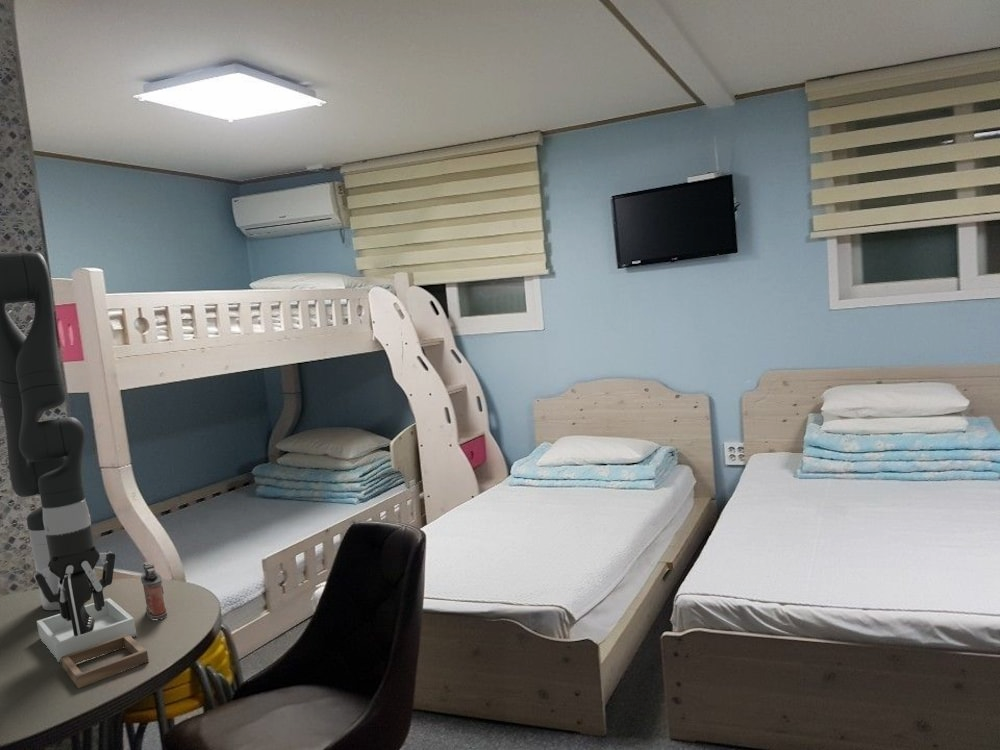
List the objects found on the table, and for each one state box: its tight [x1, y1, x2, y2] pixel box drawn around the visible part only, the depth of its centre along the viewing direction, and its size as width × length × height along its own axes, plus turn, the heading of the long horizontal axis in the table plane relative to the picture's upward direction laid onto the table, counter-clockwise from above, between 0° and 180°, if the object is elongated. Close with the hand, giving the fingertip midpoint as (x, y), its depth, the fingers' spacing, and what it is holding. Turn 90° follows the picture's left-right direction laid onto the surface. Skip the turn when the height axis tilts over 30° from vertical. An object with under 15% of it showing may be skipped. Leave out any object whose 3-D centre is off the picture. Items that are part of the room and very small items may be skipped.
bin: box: [36, 597, 138, 662], centre depth 150 cm, size 16×13×4 cm
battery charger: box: [64, 571, 95, 636], centre depth 149 cm, size 7×4×11 cm, turn 23°
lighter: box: [140, 561, 168, 620], centre depth 158 cm, size 8×3×10 cm, turn 34°
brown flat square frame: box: [61, 634, 149, 689], centre depth 137 cm, size 11×11×2 cm
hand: (83, 614), depth 150 cm, fingers closed on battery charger, 4 cm apart
